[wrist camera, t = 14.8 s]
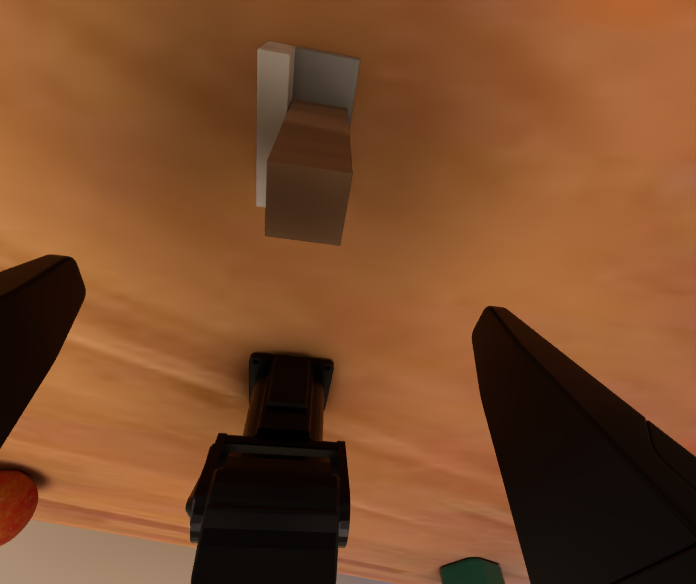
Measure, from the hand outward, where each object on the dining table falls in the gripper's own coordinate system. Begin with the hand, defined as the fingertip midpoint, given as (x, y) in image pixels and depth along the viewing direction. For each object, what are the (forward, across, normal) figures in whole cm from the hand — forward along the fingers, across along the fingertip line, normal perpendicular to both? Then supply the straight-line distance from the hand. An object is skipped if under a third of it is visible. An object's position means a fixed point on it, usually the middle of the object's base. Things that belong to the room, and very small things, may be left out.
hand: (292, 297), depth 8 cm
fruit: (+13, +28, +40) cm, 51 cm away
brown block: (+13, +1, 0) cm, 13 cm away
